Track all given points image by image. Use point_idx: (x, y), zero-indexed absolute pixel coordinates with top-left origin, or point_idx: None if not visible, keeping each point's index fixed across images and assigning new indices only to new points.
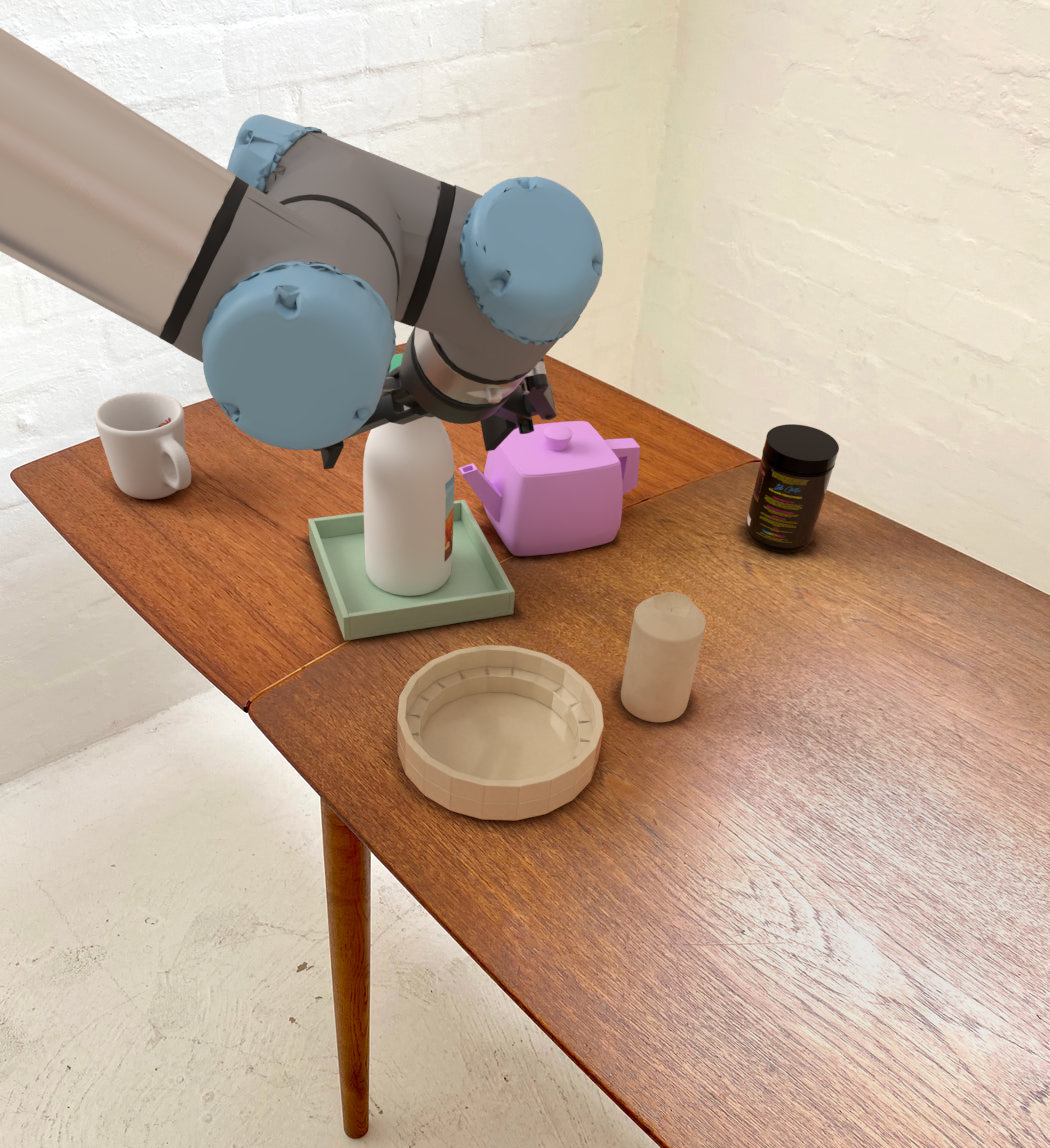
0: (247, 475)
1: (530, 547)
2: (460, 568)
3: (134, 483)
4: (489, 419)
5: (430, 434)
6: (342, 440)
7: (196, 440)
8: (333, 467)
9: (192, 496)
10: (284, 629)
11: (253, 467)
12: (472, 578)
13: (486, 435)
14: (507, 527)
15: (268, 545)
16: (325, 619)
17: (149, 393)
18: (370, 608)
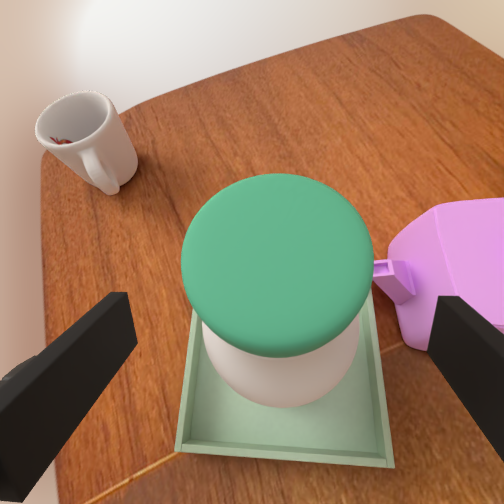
0: (187, 168)
1: None
2: None
3: (84, 179)
4: (473, 356)
5: (310, 370)
6: (14, 493)
7: (166, 122)
8: (134, 346)
9: (138, 188)
10: (137, 402)
11: (195, 159)
12: (347, 380)
13: (443, 346)
14: (409, 327)
15: (170, 265)
16: (179, 397)
17: (94, 93)
18: (224, 402)
